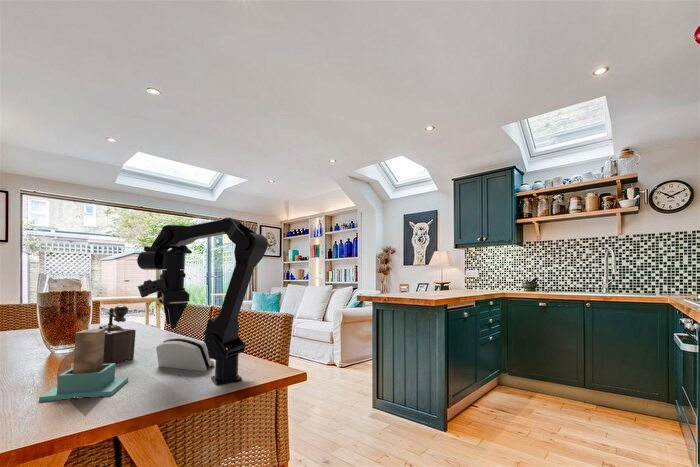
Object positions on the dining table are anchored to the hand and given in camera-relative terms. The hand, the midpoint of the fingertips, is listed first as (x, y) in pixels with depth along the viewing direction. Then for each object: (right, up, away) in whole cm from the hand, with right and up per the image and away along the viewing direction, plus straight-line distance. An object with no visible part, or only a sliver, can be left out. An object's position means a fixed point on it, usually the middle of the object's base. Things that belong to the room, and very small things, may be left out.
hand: (170, 326), depth 100 cm
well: (-13, -12, -14) cm, 23 cm away
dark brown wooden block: (-24, -15, +12) cm, 30 cm away
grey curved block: (+1, -14, +5) cm, 15 cm away
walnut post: (-13, -11, -14) cm, 22 cm away
